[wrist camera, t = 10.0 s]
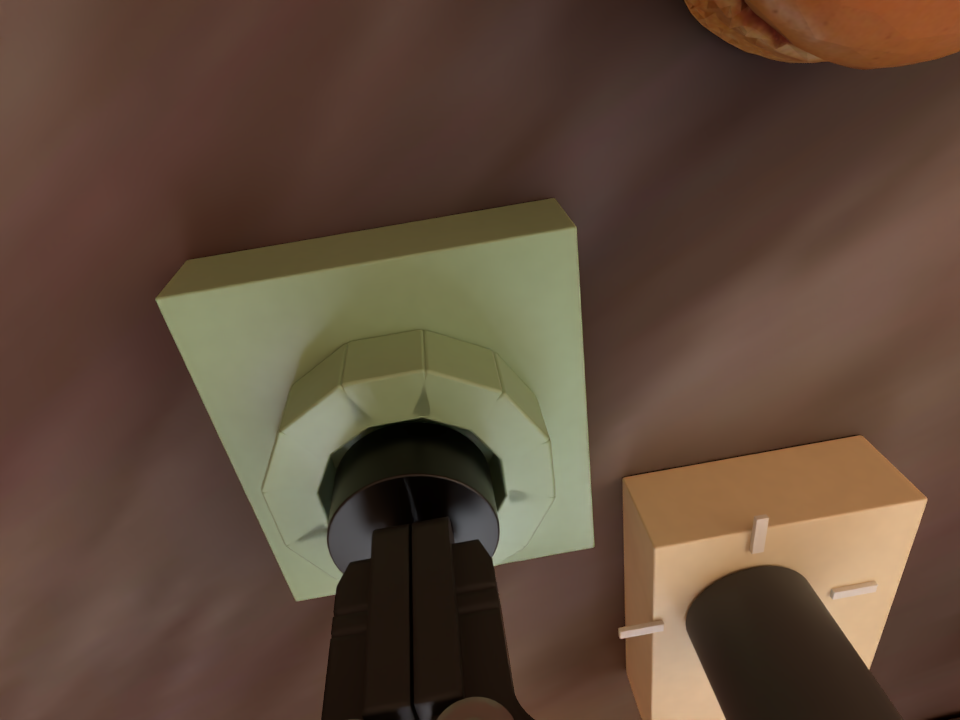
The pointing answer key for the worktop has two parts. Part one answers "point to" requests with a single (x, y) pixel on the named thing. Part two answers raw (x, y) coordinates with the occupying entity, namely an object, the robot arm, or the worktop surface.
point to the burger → (836, 29)
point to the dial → (780, 652)
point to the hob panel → (758, 552)
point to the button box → (396, 368)
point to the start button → (410, 488)
